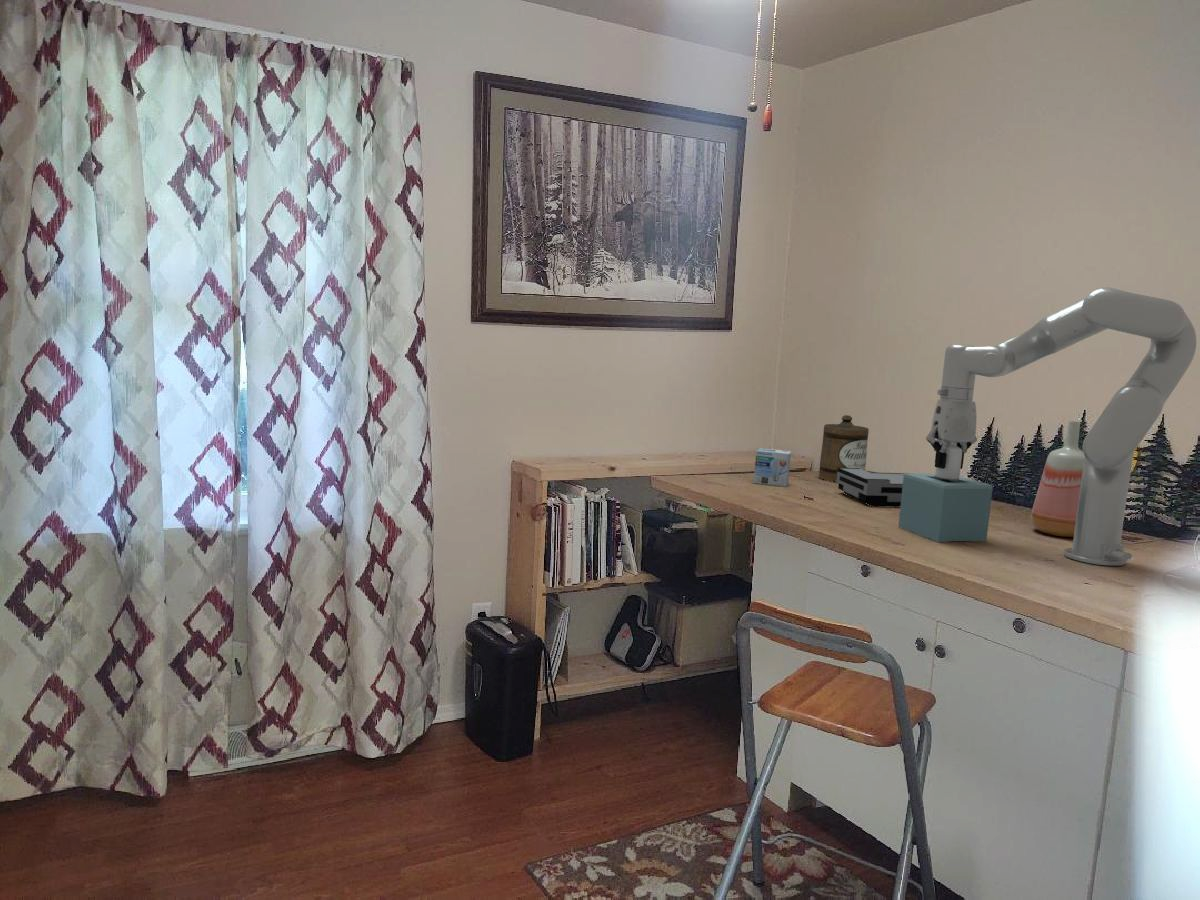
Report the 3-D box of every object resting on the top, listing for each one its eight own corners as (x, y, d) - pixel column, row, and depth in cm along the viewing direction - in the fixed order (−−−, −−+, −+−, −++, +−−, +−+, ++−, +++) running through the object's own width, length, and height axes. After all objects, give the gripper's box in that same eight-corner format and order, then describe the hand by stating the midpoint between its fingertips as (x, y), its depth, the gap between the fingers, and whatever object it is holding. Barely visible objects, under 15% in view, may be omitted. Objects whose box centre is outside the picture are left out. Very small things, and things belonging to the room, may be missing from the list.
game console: (967, 510, 262) (970, 482, 261) (865, 507, 257) (867, 479, 255) (931, 495, 282) (933, 470, 281) (835, 493, 277) (837, 467, 276)
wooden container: (848, 485, 292) (854, 418, 289) (810, 477, 303) (815, 413, 300) (872, 481, 302) (878, 417, 299) (834, 474, 313) (840, 412, 310)
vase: (1057, 526, 243) (1071, 418, 239) (1103, 539, 230) (1119, 425, 225) (1016, 528, 238) (1030, 417, 233) (1062, 541, 224) (1077, 424, 220)
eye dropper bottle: (946, 476, 227) (951, 429, 225) (961, 480, 221) (967, 432, 220) (932, 476, 225) (937, 429, 224) (947, 480, 220) (952, 432, 218)
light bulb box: (752, 483, 285) (755, 450, 284) (755, 480, 292) (758, 447, 290) (786, 486, 282) (789, 453, 281) (788, 483, 289) (791, 450, 287)
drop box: (986, 541, 220) (992, 485, 218) (938, 542, 216) (944, 485, 214) (944, 526, 235) (949, 473, 233) (898, 527, 231) (903, 473, 229)
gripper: (937, 395, 214) (929, 470, 217) (995, 397, 219) (986, 470, 222) (918, 392, 221) (910, 465, 224) (974, 394, 226) (966, 465, 229)
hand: (948, 467), depth 223 cm, fingers closed on eye dropper bottle, 4 cm apart
